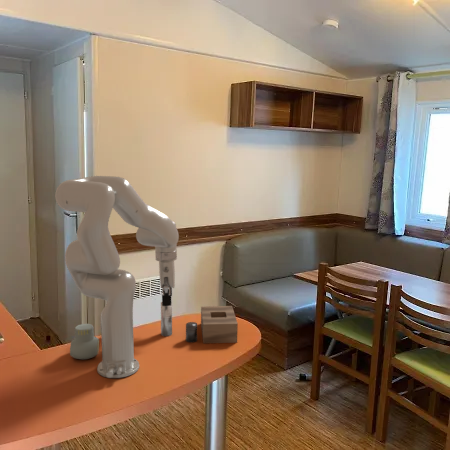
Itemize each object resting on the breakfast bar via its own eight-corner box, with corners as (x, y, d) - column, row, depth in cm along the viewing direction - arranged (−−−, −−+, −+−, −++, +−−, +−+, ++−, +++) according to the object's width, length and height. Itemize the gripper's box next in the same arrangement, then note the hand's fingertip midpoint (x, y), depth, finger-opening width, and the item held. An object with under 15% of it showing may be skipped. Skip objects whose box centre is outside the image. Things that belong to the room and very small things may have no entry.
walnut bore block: (237, 342, 166) (237, 323, 165) (203, 343, 165) (203, 324, 164) (231, 323, 183) (232, 305, 182) (201, 323, 182) (201, 306, 181)
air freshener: (74, 349, 159) (73, 321, 157) (99, 347, 160) (98, 320, 159) (69, 364, 148) (68, 334, 147) (96, 362, 150) (95, 332, 148)
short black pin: (197, 342, 166) (197, 326, 164) (186, 342, 165) (185, 326, 164) (197, 337, 169) (197, 321, 168) (185, 338, 169) (185, 322, 168)
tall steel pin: (171, 336, 171) (171, 304, 168) (160, 336, 170) (160, 304, 168) (172, 331, 174) (171, 300, 172) (161, 331, 174) (160, 300, 172)
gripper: (176, 261, 159) (177, 309, 163) (176, 248, 176) (177, 292, 180) (154, 262, 159) (155, 310, 162) (156, 249, 175) (157, 292, 179)
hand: (167, 300), depth 171 cm, fingers open, 9 cm apart
